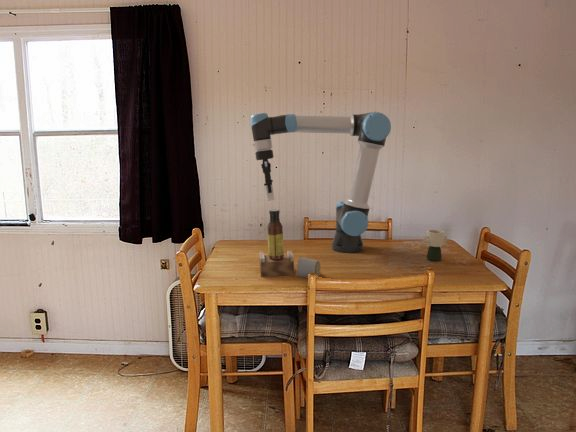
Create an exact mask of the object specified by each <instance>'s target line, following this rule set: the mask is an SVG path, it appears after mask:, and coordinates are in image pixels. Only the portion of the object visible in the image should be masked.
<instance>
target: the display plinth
mask: <svg viewBox="0 0 576 432" xmlns="http://www.w3.org/2000/svg"><path fill="white" fill-rule="evenodd" d="M286 251H287V254H284V257H283V259H280V260H272V259H270V258H269V255H268V254H264V251H259V273H260V277H261V278H270V277H275V278H276V277H294V276H295V271H294V270H295V257H294V254H293V252H292V250H286Z"/></svg>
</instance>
